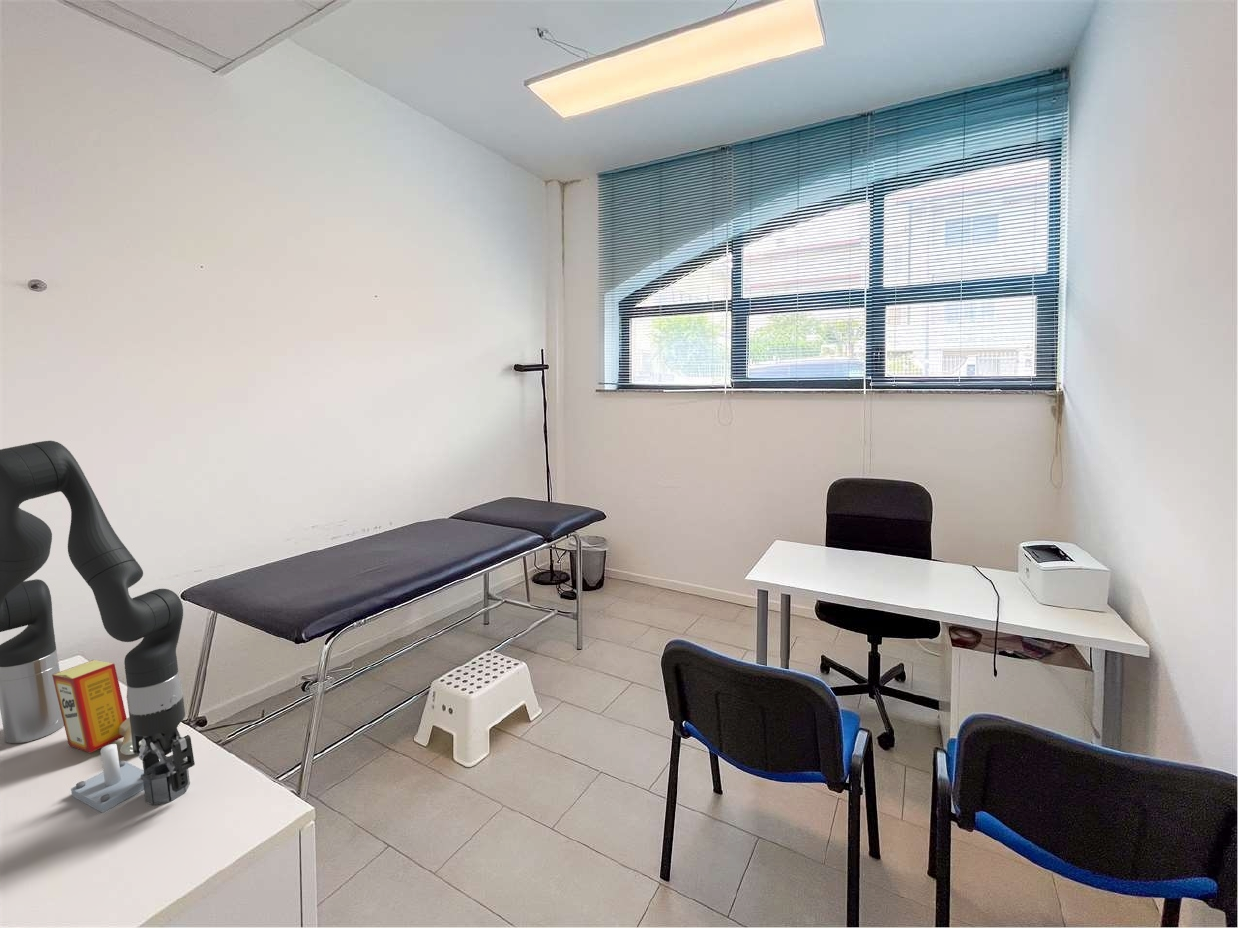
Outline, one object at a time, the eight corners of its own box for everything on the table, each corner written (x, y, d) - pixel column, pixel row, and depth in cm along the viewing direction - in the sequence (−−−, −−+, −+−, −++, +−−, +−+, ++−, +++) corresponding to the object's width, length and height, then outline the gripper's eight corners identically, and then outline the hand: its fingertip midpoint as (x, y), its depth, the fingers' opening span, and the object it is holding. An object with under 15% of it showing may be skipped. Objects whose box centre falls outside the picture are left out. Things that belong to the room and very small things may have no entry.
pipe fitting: (131, 763, 108) (166, 740, 114) (131, 747, 107) (166, 724, 113) (100, 749, 109) (136, 727, 116) (100, 733, 108) (136, 712, 115)
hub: (139, 798, 99) (136, 773, 98) (176, 776, 104) (173, 753, 103) (159, 808, 96) (156, 783, 96) (196, 785, 102) (193, 761, 101)
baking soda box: (68, 745, 112) (51, 672, 111) (108, 727, 118) (92, 658, 117) (90, 752, 108) (72, 677, 107) (130, 733, 114) (114, 661, 113)
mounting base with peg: (71, 795, 99) (65, 753, 98) (125, 767, 106) (119, 728, 105) (102, 812, 95) (96, 769, 94) (155, 782, 103) (150, 741, 101)
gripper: (108, 702, 97) (119, 784, 99) (155, 722, 91) (166, 807, 94) (157, 681, 103) (166, 758, 106) (203, 698, 98) (212, 779, 100)
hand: (166, 781), depth 100 cm, fingers open, 8 cm apart
